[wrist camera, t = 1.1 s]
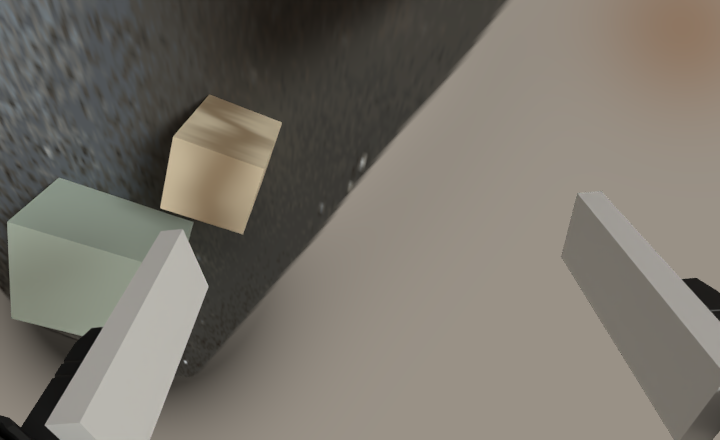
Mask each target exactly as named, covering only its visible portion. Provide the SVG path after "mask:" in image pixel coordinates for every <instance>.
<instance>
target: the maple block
mask: <svg viewBox="0 0 720 440" xmlns="http://www.w3.org/2000/svg"><path fill="white" fill-rule="evenodd" d="M281 124H282V122H279V121H276V120H274V119H271V118H269V117H266V116H264V115H261V114H258V113H256V112H253V111H251V110H248V109H246V108H243V107H240V106H238V105H235V104H233V103H230V102H228V101H225V100H222V99H220V98H217V97H215V96H212V95H210V94H209V95H208V96H207V98H206V99H205V100H204V101H203V102H202V103H201V105H200V106H199V107H198V108H197V109H196V110H195V112H194V113H193V114H192V115H191V116H190V117H189V119H188V120H187V121H186V122H185V123H184V124H183V126H182V127H181V128H180V129H179V130H178V131H177V133H176V134H175V135H174V136H173V140H172V145H171V151H170V156H169V162H168V167H167V173H166V178H165V184H164V189H163V195H162V200H161V206H160V208H161V209H164V210H167V211H170V212H174V213H177V214H180V215H183V216H186V217H189V218H193V219H196V220H199V221H202V222H205V223H208V224H212V225H215V226H218V227H221V228H224V229H228V230H231V231H234V232H237V233H240V234H243V232H244V230H245V227H246V224H247V221H248V219H249V216H250V213H251V210H252V208H253V205H254V202H255V199H256V197H257V194H258V191H259V189H260V186H261V183H262V180H263V177H264V174H265V171H266V169H267V166H268V163H269V160H270V157H271V154H272V151H273V148H274V145H275V142H276V139H277V136H278V133H279V130H280V127H281Z"/></svg>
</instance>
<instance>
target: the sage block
mask: <svg viewBox="0 0 720 440" xmlns="http://www.w3.org/2000/svg"><path fill="white" fill-rule="evenodd" d="M193 223H194V222H192V221H189V220H185V219H182V218H179V217H176V216H173V215H170V214H167V213H164V212H161V211H158V210H155V209H152V208H149V207H146V206H143V205H140V204H137V203H134V202H131V201H128V200H125V199H122V198H119V197H116V196H113V195H110V194H107V193H104V192H101V191H98V190H95V189H92V188H89V187H86V186H83V185H80V184H77V183H74V182H71V181H68V180H65V179H62V178H58V179H57V180H55V181H54V182H53V183H52V184H51V185H50V186H48V187H47V188H46V189H45V190H44V191H43V192H41V193H40V194H39V195H38V196H37V197H36V198H34V199H33V200H32V201H31V202H30V203H29V204H27V205H26V206H25V207H24V208H23V209H22V210H20V211H19V212H18V213H17V214H16V215H15V216H13V217H12V218H11V219H10V220H9V221H7V231H8V254H9V276H10V299H11V318H12V319H16V320H20V321H24V322H29V323H32V324H36V325H40V326H44V327H48V328H52V329H56V330H60V331H65V332H69V333H73V334H77V335H81V336H83V335H84V334H86V333H87V332H88V331H89V330H90V329H91V328H96V327H104V325H105V323H106V322H107V320H108V318H109V317H110V315H111V313H112V312H113V310H114V308H115V307H116V305H117V303H118V302H119V300H120V298H121V297H122V295H123V293H124V292H125V290H126V288H127V287H128V285H129V283H130V282H131V280H132V278H133V277H134V275H135V273H136V272H137V270H138V268H139V267H140V265H141V263H142V262H143V260H144V258H145V257H146V255H147V253H148V252H149V250H150V248H151V247H152V245H153V243H154V242H155V240H156V238H157V237H158V235H159V233H160V232H161V231H167V230H178V229H183V230H184V233H185V235H186V237H187V239H188V241H189V237H190V234H191V230H192V227H193Z"/></svg>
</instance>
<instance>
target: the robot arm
mask: <svg viewBox="0 0 720 440" xmlns="http://www.w3.org/2000/svg"><path fill="white" fill-rule="evenodd" d="M561 257H562V259H563V261H564V262H565V264H566V265H567V267H568V269H569V270H570V272H571V273H572V275H573V277H574V278H575V280H576V281H577V283H578V285H579V286H580V288H581V290H582V291H583V293H584V295H585V296H586V298H587V299H588V301H589V303H590V304H591V306H592V308H593V309H594V311H595V312H596V314H597V316H598V317H599V319H600V321H601V322H602V324H603V325H604V327H605V329H606V330H607V332H608V334H609V335H610V337H611V338H612V340H613V342H614V343H615V345H616V346H617V348H618V350H619V351H620V353H621V355H622V356H623V358H624V359H625V361H626V363H627V364H628V366H629V368H630V369H631V371H632V372H633V374H634V376H635V377H636V379H637V381H638V382H639V384H640V385H641V387H642V389H643V390H644V392H645V393H646V395H647V397H648V398H649V400H650V402H651V403H652V405H653V406H654V408H655V410H656V411H657V413H658V415H659V416H660V418H661V419H662V421H663V423H664V424H665V426H666V427H667V429H668V431H669V432H670V434H671V436H672V437H673V439H674V440H713V438H714V437H715V436H716V435H717V434H718V432H719V431H720V293H719V292H718V291H716V290H715V289H713V288H712V287H710V286H708V285H706V284H705V283H704V282H702V281H700V280H699V279H697V278H690V279H681V278H680V277H679V276H678V275H677V274H676V273H675V272H674V271H673V269H671V267H670V266H669V265H668V264H667V263H666V262H665V261H664V260H663V258H662V257H661V256H660V255H659V254H658V253H657V252H656V251H655V250H654V249H653V248H652V246H651V245H650V244H649V243H648V242H647V241H646V240H645V239H644V238H643V236H642V235H641V234H640V233H639V232H638V231H637V230H636V229H635V228H634V227H633V226H632V224H631V223H630V222H629V221H628V220H627V219H626V218H625V217H624V216H623V214H622V213H621V212H620V211H619V210H618V209H617V208H616V207H615V206H614V205H613V203H612V202H611V201H610V200H609V199H608V198H607V197H606V196H605V195H604V194H603V192H602V191H598V192H588V193H577V197H576V201H575V205H574V209H573V212H572V216H571V221H570V224H569V228H568V232H567V236H566V240H565V244H564V248H563V252H562V256H561ZM207 289H208V284H207V282H206V280H205V278H204V275H203V273H202V271H201V269H200V266H199V264H198V262H197V260H196V257H195V255H194V253H193V251H192V248H191V246H190V244H189V242H188V239H187V237H186V235H185V233H184V230H183V229H178V230H167V231H161V232H160V233H159V235H158V237H157V238H156V240H155V242H154V243H153V245H152V247H151V248H150V250H149V252H148V253H147V255H146V257H145V258H144V260H143V262H142V263H141V265H140V267H139V268H138V270H137V272H136V273H135V275H134V277H133V278H132V280H131V282H130V283H129V285H128V287H127V288H126V290H125V292H124V293H123V295H122V297H121V298H120V300H119V302H118V303H117V305H116V307H115V308H114V310H113V312H112V313H111V315H110V317H109V318H108V320H107V322H106V323H105V325H104V327H96V328H91V329H90V330H89V331H88V332H87V333H86V334H84V335H83V336H82V337H81V338H80V339H79V340H78V341H77V342H76V343H75V344H74V346H73V347H72V349H71V350H70V352H69V354H68V355H67V357H66V358H65V360H64V364H61V366H60V368H59V369H58V371H57V372H56V374H55V378H53V379H52V380H51V382H50V383H49V385H48V386H47V388H46V389H45V391H44V392H43V394H42V395H41V397H40V399H39V400H38V402H37V403H36V405H35V407H34V408H33V410H32V411H31V413H30V414H29V416H28V417H27V419H26V420H25V422H24V423H23V425H22V427H19V426H18V425H17V424H16V423H15V422H14V421H12V420H11V419H10V418H8V417H4V416H0V440H150V438H151V436H152V433H153V430H154V427H155V425H156V422H157V420H158V417H159V415H160V412H161V409H162V407H163V404H164V402H165V399H166V396H167V394H168V391H169V388H170V386H171V383H172V381H173V378H174V375H175V373H176V370H177V367H178V365H179V362H180V360H181V357H182V354H183V352H184V349H185V347H186V344H187V341H188V339H189V336H190V333H191V331H192V328H193V326H194V323H195V320H196V318H197V315H198V313H199V310H200V307H201V305H202V302H203V299H204V297H205V294H206V292H207Z"/></svg>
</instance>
